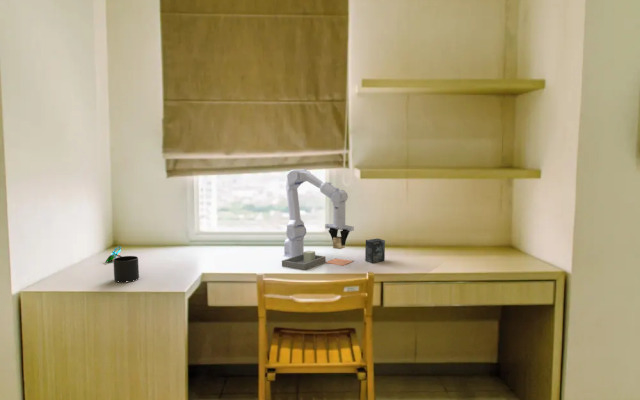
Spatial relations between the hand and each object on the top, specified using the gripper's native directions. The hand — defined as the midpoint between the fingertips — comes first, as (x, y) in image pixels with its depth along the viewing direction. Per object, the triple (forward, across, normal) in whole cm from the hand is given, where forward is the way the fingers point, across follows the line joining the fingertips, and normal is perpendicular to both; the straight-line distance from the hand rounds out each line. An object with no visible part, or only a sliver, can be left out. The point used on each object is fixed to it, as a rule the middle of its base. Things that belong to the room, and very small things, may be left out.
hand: (339, 244), depth 217 cm
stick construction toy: (+9, -94, -54) cm, 109 cm away
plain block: (+8, -12, -8) cm, 17 cm away
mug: (+9, -61, -71) cm, 94 cm away
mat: (+9, 0, 0) cm, 9 cm away
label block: (+2, 0, 0) cm, 2 cm away
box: (+9, +13, +12) cm, 20 cm away
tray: (+9, -12, -12) cm, 19 cm away
